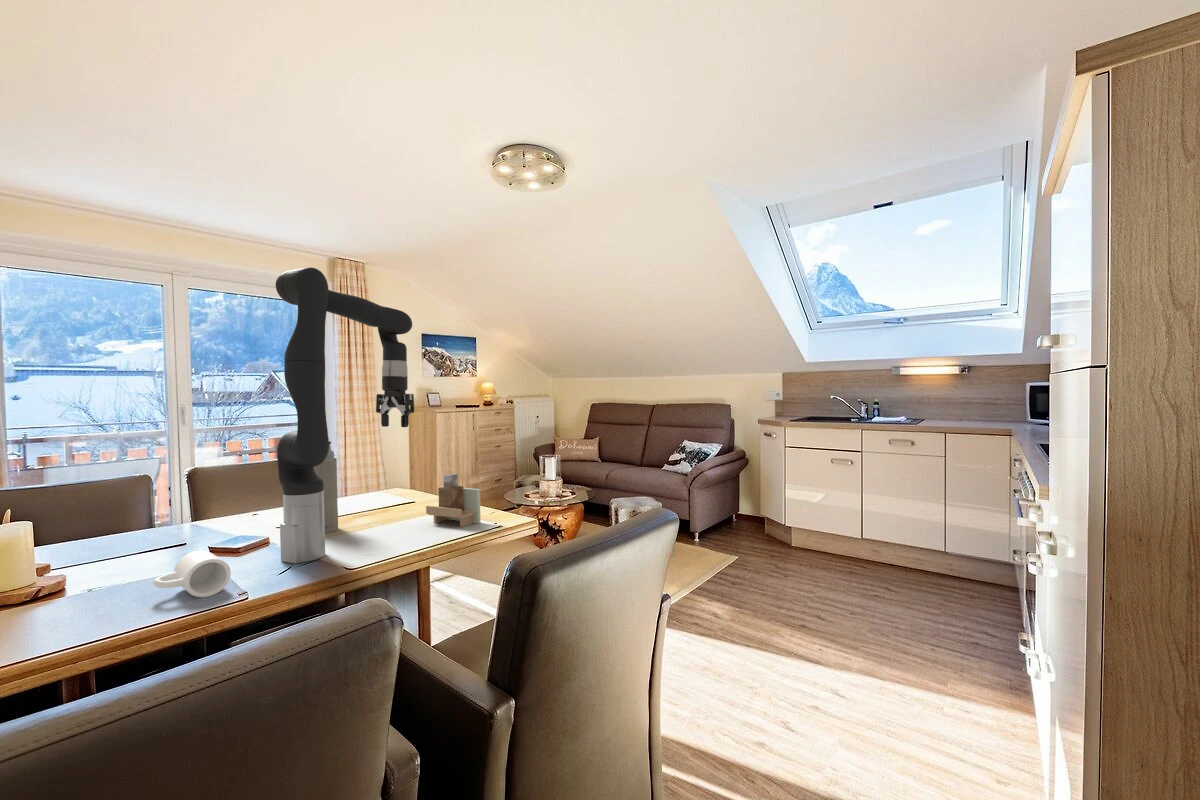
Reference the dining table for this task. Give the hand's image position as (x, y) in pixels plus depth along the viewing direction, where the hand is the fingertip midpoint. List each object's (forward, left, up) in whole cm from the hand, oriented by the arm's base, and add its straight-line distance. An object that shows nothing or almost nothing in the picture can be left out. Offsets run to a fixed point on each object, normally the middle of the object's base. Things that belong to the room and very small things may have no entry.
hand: (394, 426), depth 162 cm
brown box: (+11, -12, -28) cm, 33 cm away
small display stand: (+11, -12, -32) cm, 36 cm away
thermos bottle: (-11, +20, -32) cm, 39 cm away
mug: (-57, 0, -32) cm, 65 cm away
